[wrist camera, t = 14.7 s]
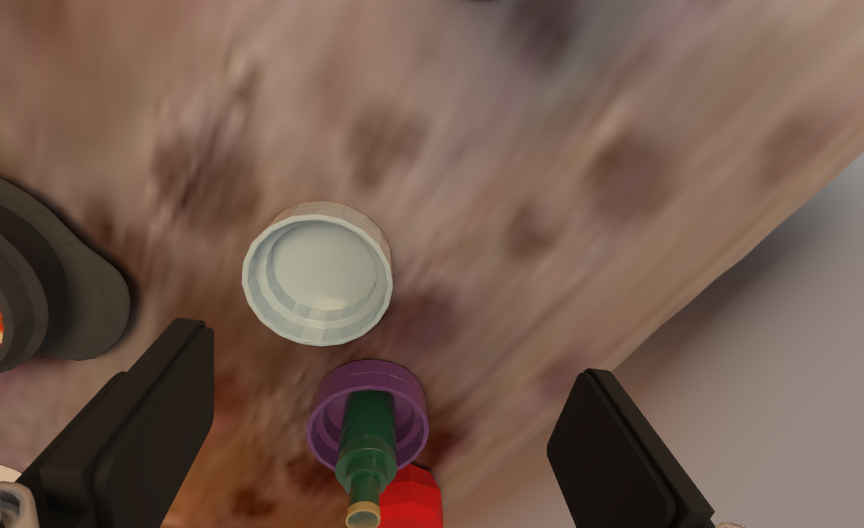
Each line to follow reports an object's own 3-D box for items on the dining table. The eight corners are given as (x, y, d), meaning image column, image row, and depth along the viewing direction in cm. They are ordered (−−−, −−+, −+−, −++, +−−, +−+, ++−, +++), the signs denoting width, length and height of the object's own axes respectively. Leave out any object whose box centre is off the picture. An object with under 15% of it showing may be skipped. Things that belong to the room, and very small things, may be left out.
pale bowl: (355, 177, 38) (350, 189, 33) (412, 290, 43) (414, 314, 38) (231, 232, 39) (210, 252, 34) (301, 336, 44) (291, 365, 39)
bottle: (382, 377, 46) (379, 488, 34) (404, 413, 49) (409, 529, 36) (335, 396, 47) (314, 512, 34) (358, 431, 49) (348, 551, 37)
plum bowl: (397, 339, 45) (398, 368, 41) (441, 418, 51) (446, 451, 46) (293, 382, 46) (282, 415, 42) (346, 455, 52) (342, 491, 47)
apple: (448, 453, 53) (460, 530, 44) (430, 508, 57) (438, 589, 48) (367, 446, 51) (362, 524, 42) (354, 504, 55) (347, 586, 46)
